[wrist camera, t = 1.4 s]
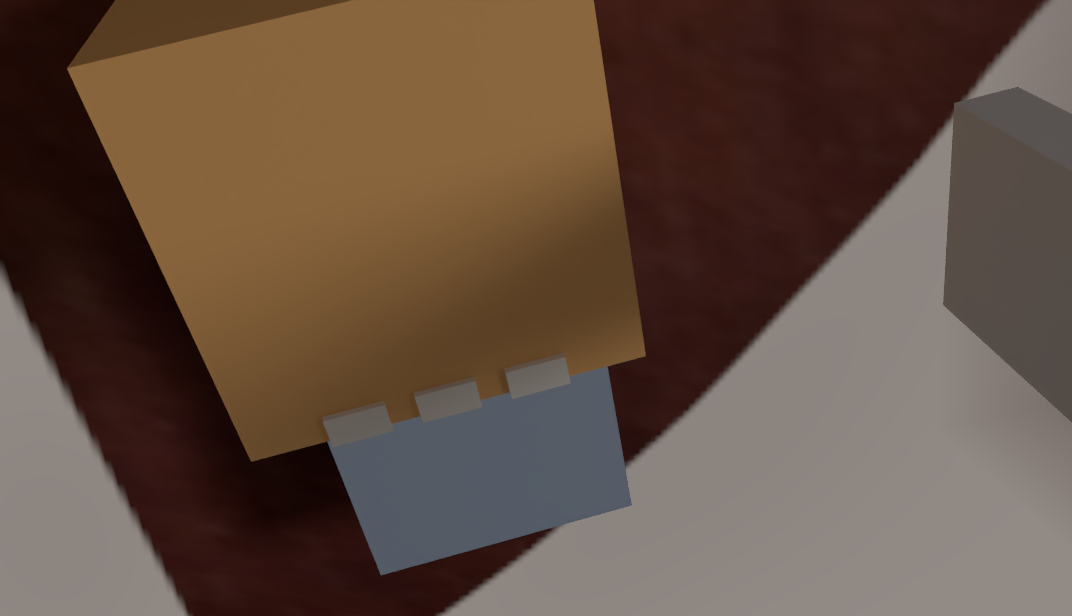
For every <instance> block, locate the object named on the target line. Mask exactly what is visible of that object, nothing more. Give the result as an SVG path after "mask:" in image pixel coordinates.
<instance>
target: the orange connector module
mask: <svg viewBox="0 0 1072 616" xmlns="http://www.w3.org/2000/svg"><path fill="white" fill-rule="evenodd" d="M67 70H68V72H69V74H70V76H71V78H72V80H73V82H74V85H75V87H76V89H77V91H78V93H79V95H80V97H81V100H82V102H83V104H84V106H85V108H86V110H87V112H88V114H89V117H90V119H91V121H92V123H93V125H94V127H95V129H96V132H97V134H98V136H99V138H100V140H101V142H102V144H103V146H104V149H105V151H106V153H107V155H108V157H109V159H110V161H111V164H112V166H113V168H114V170H115V172H116V174H117V176H118V179H119V181H120V183H121V185H122V187H123V189H124V191H125V193H126V196H127V198H128V200H129V202H130V204H131V206H132V208H133V211H134V213H135V215H136V217H137V219H138V221H139V223H140V225H141V228H142V230H143V232H144V234H145V236H146V238H147V240H148V243H149V245H150V247H151V249H152V251H153V253H154V255H155V258H156V260H157V262H158V264H159V266H160V268H161V270H162V272H163V275H164V277H165V279H166V281H167V283H168V285H169V287H170V290H171V292H172V294H173V296H174V298H175V300H176V302H177V304H178V307H179V309H180V311H181V313H182V315H183V317H184V319H185V322H186V324H187V326H188V328H189V330H190V332H191V334H192V337H193V339H194V341H195V343H196V345H197V347H198V349H199V351H200V354H201V356H202V358H203V360H204V362H205V364H206V366H207V369H208V371H209V373H210V375H211V377H212V379H213V381H214V383H215V386H216V388H217V390H218V392H219V394H220V396H221V398H222V401H223V403H224V405H225V407H226V409H227V411H228V413H229V416H230V418H231V420H232V422H233V424H234V426H235V428H236V430H237V433H238V435H239V437H240V439H241V441H242V443H243V445H244V448H245V450H246V452H247V454H248V456H249V458H250V460H251V462H252V461H256V460H260V459H263V458H267V457H271V456H275V455H278V454H282V453H286V452H290V451H293V450H297V449H301V448H304V447H308V446H312V445H316V444H319V443H323V442H327V441H331V444H332V446H333V447H337V446H340V445H344V444H348V443H351V442H355V441H359V440H363V439H366V438H370V437H374V436H377V435H381V434H385V433H389V432H392V431H393V426H392V424H394V423H398V422H401V421H405V420H409V419H413V418H416V417H420V416H421V419H422V422H423V423H426V422H430V421H433V420H437V419H441V418H444V417H448V416H452V415H456V414H459V413H463V412H467V411H470V410H474V409H478V408H482V403H481V400H483V399H487V398H491V397H495V396H498V395H502V394H506V393H509V392H510V394H511V398H512V399H515V398H519V397H523V396H526V395H530V394H534V393H537V392H541V391H545V390H549V389H552V388H556V387H560V386H563V385H567V384H571V382H570V378H569V376H573V375H576V374H580V373H584V372H588V371H591V370H595V369H599V368H603V367H606V366H610V365H614V364H617V363H621V362H625V361H629V360H632V359H636V358H640V357H644V356H646V354H645V347H644V340H643V334H642V327H641V320H640V313H639V306H638V300H637V293H636V286H635V279H634V272H633V265H632V259H631V252H630V245H629V238H628V231H627V224H626V218H625V211H624V204H623V197H622V190H621V184H620V177H619V170H618V163H617V156H616V149H615V143H614V136H613V129H612V122H611V115H610V109H609V102H608V95H607V88H606V81H605V74H604V68H603V61H602V54H601V47H600V40H599V33H598V27H597V20H596V13H595V6H594V0H115V1H114V3H113V4H112V6H111V7H110V8H109V10H108V11H107V13H106V14H105V15H104V17H103V18H102V20H101V21H100V23H99V24H98V25H97V27H96V28H95V30H94V31H93V32H92V34H91V35H90V37H89V38H88V39H87V41H86V42H85V44H84V45H83V46H82V48H81V49H80V51H79V52H78V53H77V55H76V56H75V58H74V59H73V61H72V62H71V63H70V65H69V66H68V68H67Z"/></svg>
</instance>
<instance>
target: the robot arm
mask: <svg viewBox="0 0 1072 616" xmlns="http://www.w3.org/2000/svg"><path fill="white" fill-rule="evenodd" d="M943 304H944V306H945V307H946V308H947V309H949V311H951V313H953V314H954V315H955V316H956V317H957V318H958V319H959V320H960V321H961V322H962V323H964V324H965V325H966V326H967V327H968V328H969V329H970V330H971V331H973V333H975V334H976V335H977V336H978V337H979V338H980V339H981V340H982V341H983V342H984V343H985V344H987V345H988V346H989V347H990V348H991V349H992V350H993V351H994V352H995V353H996V354H998V355H999V356H1000V357H1001V358H1002V359H1003V360H1004V361H1005V362H1006V363H1007V364H1009V365H1010V366H1011V367H1012V368H1013V369H1014V370H1015V371H1016V372H1017V373H1019V375H1021V376H1022V377H1023V378H1024V379H1025V380H1026V381H1027V382H1028V383H1029V384H1030V385H1032V386H1033V387H1034V388H1035V389H1036V390H1037V391H1038V392H1039V393H1040V394H1041V395H1043V396H1044V397H1045V398H1046V399H1047V400H1048V401H1049V402H1050V403H1051V404H1052V405H1053V406H1055V407H1056V408H1057V409H1058V410H1059V411H1060V412H1061V413H1063V415H1064V416H1066V417H1067V418H1068V419H1069V420H1070V421H1071V422H1072V114H1071V113H1069V112H1067V111H1064V110H1062V109H1060V108H1058V107H1057V106H1054V105H1053V104H1051V103H1049V102H1047V101H1045V100H1042V99H1041V98H1039V97H1037V96H1035V95H1033V94H1031V93H1029V92H1027V91H1025V90H1023V89H1020V88H1019V87H1016V88H1012V89H1008V90H1004V91H1000V92H996V93H992V94H988V95H985V96H981V97H977V98H973V99H969V100H965V101H961V102H957V103H955V104H954V122H953V140H952V158H951V176H950V195H949V212H948V231H947V248H946V266H945V285H944V302H943Z"/></svg>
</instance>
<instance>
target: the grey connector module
mask: <svg viewBox="0 0 1072 616" xmlns="http://www.w3.org/2000/svg"><path fill="white" fill-rule="evenodd" d="M569 378H570V382H571V384H567V385H563V386H560V387H556V388H552V389H549V390H545V391H541V392H537V393H534V394H530V395H526V396H523V397H519V398H515V399H512V398H511V394H510V392H509V393H506V394H502V395H498V396H495V397H491V398H487V399H483V400H481V403H482V408H478V409H474V410H470V411H467V412H463V413H459V414H456V415H452V416H448V417H444V418H441V419H437V420H433V421H430V422H426V423H423V422H422V419H421V416H420V417H416V418H413V419H409V420H405V421H401V422H398V423H394V424H392V426H393V431H392V432H389V433H385V434H381V435H377V436H374V437H370V438H366V439H363V440H359V441H355V442H351V443H348V444H344V445H340V446H337V447H333V446H332V444H331V441H327V442H328V445H329V447H330V450H331V452H332V455H333V457H334V460H335V462H336V465H337V467H338V469H339V472H340V474H341V477H342V479H343V482H344V484H345V487H346V489H347V492H348V494H349V497H350V499H351V502H352V504H353V507H354V509H355V512H356V514H357V517H358V519H359V522H360V524H361V527H362V529H363V532H364V534H365V537H366V539H367V542H368V544H369V547H370V549H371V552H372V554H373V556H374V559H375V561H376V564H377V566H378V569H379V571H380V574H381V575H383V574H387V573H390V572H394V571H398V570H401V569H405V568H408V567H412V566H416V565H419V564H423V563H426V562H430V561H434V560H437V559H441V558H444V557H448V556H452V555H455V554H459V553H462V552H466V551H469V550H473V549H477V548H480V547H484V546H487V545H491V544H495V543H498V542H502V541H505V540H509V539H513V538H516V537H520V536H523V535H527V534H531V533H534V532H538V531H541V530H545V529H548V528H552V527H556V526H559V525H563V524H566V523H570V522H574V521H577V520H581V519H584V518H588V517H592V516H595V515H599V514H602V513H606V512H609V511H613V510H616V509H620V508H624V507H627V506H631V505H632V504H631V499H630V493H629V488H628V482H627V476H626V470H625V464H624V459H623V453H622V447H621V442H620V436H619V430H618V425H617V419H616V413H615V408H614V402H613V396H612V391H611V385H610V379H609V373H608V368H607V366H606V367H603V368H599V369H595V370H591V371H588V372H584V373H580V374H576V375H573V376H569Z"/></svg>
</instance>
